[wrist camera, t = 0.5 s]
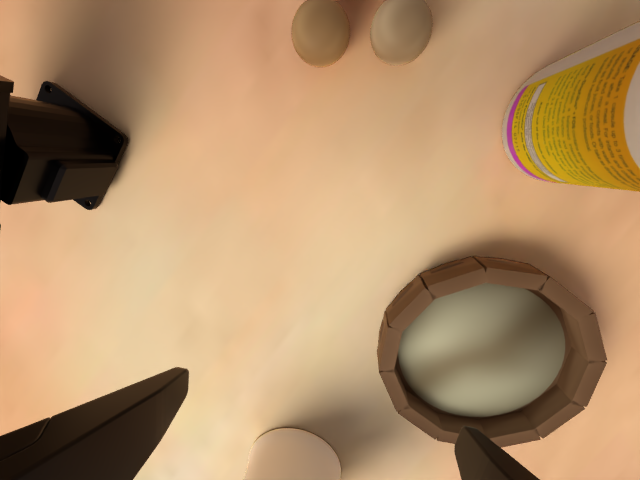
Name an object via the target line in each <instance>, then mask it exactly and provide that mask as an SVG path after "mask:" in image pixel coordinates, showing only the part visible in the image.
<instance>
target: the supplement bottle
mask: <svg viewBox="0 0 640 480" xmlns="http://www.w3.org/2000/svg"><path fill="white" fill-rule="evenodd" d="M502 141H503V146H504V149H505V152H506V154H507V156H508V158H509V160H510V161H511V162H512V164H513V165H514V166H515V167H516V168H517V169H518V170H520V171H521V172H522V173H524V174H526V175H527V176H529V177H532V178H534V179H537V180H542V181H547V182H554V183H565V184H574V185H582V186H593V187H602V188H612V189H621V190H631V191H639V192H640V21H639V22H637V23H635V24H632V25H630V26H628V27H626V28H624V29H622V30H620V31H618V32H616V33H614V34H612V35H610V36H608V37H606V38H604V39H601V40H599V41H597V42H595V43H593V44H591V45H589V46H587V47H585V48H583V49H581V50H579V51H577V52H574V53H572V54H570V55H568V56H566V57H564V58H562V59H560V60H558V61H556V62H554V63H552V64H550V65H548V66H546V67H545V68H543V69H541V70H540V71H538V72H537V73H535V74H534V75H533V76H531V77H530V78H529V79H528V80H527V81H526V82H525V83H524V84H523V85H522V86H521V87H520V88H519V89H518V91H517V92H516V93H515V95H514V96H513V98H512V100H511V101H510V103H509V105H508V107H507V110H506V113H505V116H504V119H503V124H502Z"/></svg>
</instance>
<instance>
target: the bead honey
mask: <svg viewBox="0 0 640 480" xmlns="http://www.w3.org/2000/svg"><path fill="white" fill-rule="evenodd" d="M349 36H350V27H349V21H348V18H347V15H346V13H345V11H344V10H343V8H342V7H341V5H340V4H339V3H338V2H336V1H335V0H307V1H305V2H304V3H303V4H302V5H301V6H300V7H299V9H298V10H297V12H296V14H295V16H294V19H293V23H292V41H293V44H294V47H295V50H296V52H297V53H298V55H299V56H300V57H301V58H302V59H303V60H304V61H305V62H306V63H308V64H310V65H312V66H315V67H327V66H330V65H332V64H334V63H335V62H336V61H338V60H339V59H340V58H341V56H342V55H343V54H344V52H345V50H346V48H347V45H348V42H349Z"/></svg>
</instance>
